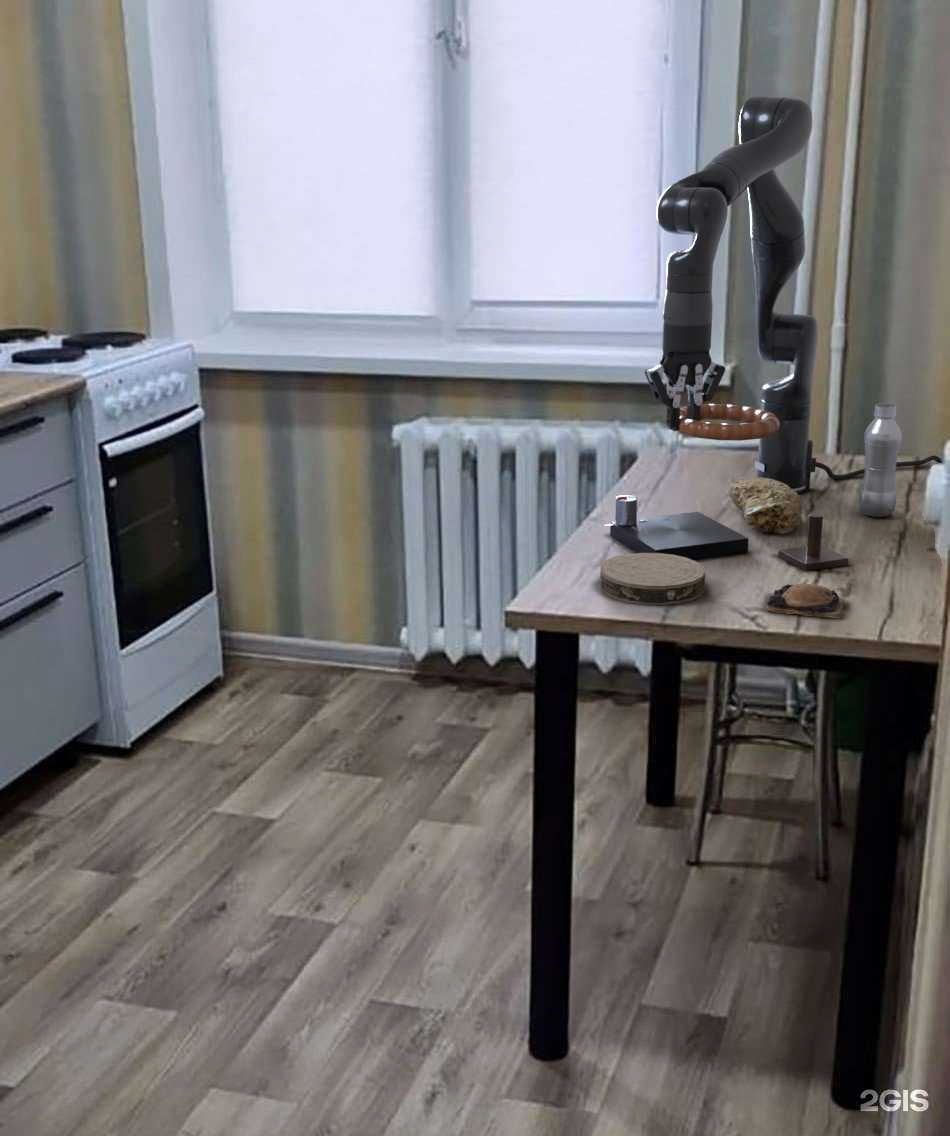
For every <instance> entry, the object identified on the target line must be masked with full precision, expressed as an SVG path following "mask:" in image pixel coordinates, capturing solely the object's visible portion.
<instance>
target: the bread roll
mask: <svg viewBox="0 0 950 1136" xmlns="http://www.w3.org/2000/svg"><path fill="white" fill-rule="evenodd" d="M845 602H846V601H845V598H843V597H840V596H839V595H838V593H837V592H836V591H835V590H831V589H829V588H828V587H826V586H823V585H820V584H819V585H818V584H815V583H807V582H801V583H800V582H799V583H796V584H789V583H787V584H785V585H783V586H781V588H779V589H776V590H774V592H773V593H772V595H771V596H769V599H768V601H767V602H766V605H767V606H766V608H765V610H766V612H771V613H772V612H773V613H776V614H780V613H781V614H787V615H794V614H797V615H801V616H804V617H824V618H825V617H826V618H832V619H839V618H840V617H841V614H842V611H843V608H844V605H845Z"/></svg>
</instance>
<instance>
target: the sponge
mask: <svg viewBox="0 0 950 1136" xmlns="http://www.w3.org/2000/svg"><path fill="white" fill-rule="evenodd" d="M729 497H730V499H731V501H732V503H733V504H734V506H736V507H737V508H738V509H739V510H740V511H741V512H743V518H744V520H745V522H746V523H747V525H749V526H751V529H753V530H756V531H761V532H769V533H772V531H773V532H774V533H777V534H778V535H787V534H788V533H791V532H792V531H793V530H794V529H796V528H797V526H798V525H799V523H800V522H801V519H802V513H803V507H804V505H803V498H802V497H801V496H800V494H799V493H797V492H795V491H793V490H791V489H790V487H789V486H788V485H786V484H784V483H782V482H779V481H776V480H772V479H768V478H757V477H753V478H748V479H747V478H746V479H739V480H736V481H735V482H733V483H732V484H731V486H730V489H729Z"/></svg>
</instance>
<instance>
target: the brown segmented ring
mask: <svg viewBox="0 0 950 1136" xmlns="http://www.w3.org/2000/svg"><path fill="white" fill-rule="evenodd" d="M679 408H680V425H679V430H678V431H676V432H678V433H679V434H682V435H684V436H689V437H693V438H698V439H704V440H713V441H732V442H733V441H735V442H736V441H738V442H739V441H750V440H751V441H753V440H759V439H760V438H764V437H768V436H771V435H772V434H774V433H775V432H776V431H777V430H778V429H779V426H780V422H779V420H778V419H777V417H776V416H775V415H774V414H773V413H770V412H768V411H765V410H762V409H761V408H757V407H752V406H747V405H739V404H729V403H727V404H726V403H705V404H704V403H702V405H701V407H700V421H697V420H692V419H689V418H687V406H682V407H679ZM709 421H731V422H742V423H721V422H720V423H719V422H709Z"/></svg>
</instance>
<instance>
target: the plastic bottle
mask: <svg viewBox="0 0 950 1136" xmlns="http://www.w3.org/2000/svg"><path fill="white" fill-rule="evenodd" d="M873 416H874V419H873V420H872V421H871V422H870V423H869V425H868V426H867V428H866V430H865V431H864V453H865V455H864V457H865V458H864V461H865V462H864V464H865V465H864V469H865V473H864V474H863V479H862V484H861V485H862V486H861V489H860V492H859V497H858V508H859V510H860V512H861V514H864V515H866V516H870V517H888V516H891V515H892V514H893V512H894V511H895V509H896V505H897V494H896V469H897V467H896V463H897V462H898V456H899V452H900V447H901V443H902V438H903V435H902V431H901V428H900V426H899V425H898V423H897V422H896V420H895V418H896V417H897V405H896V404H894V403H887V402H884V403H882V402H881V403H876V404H875V405H874V412H873Z"/></svg>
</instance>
